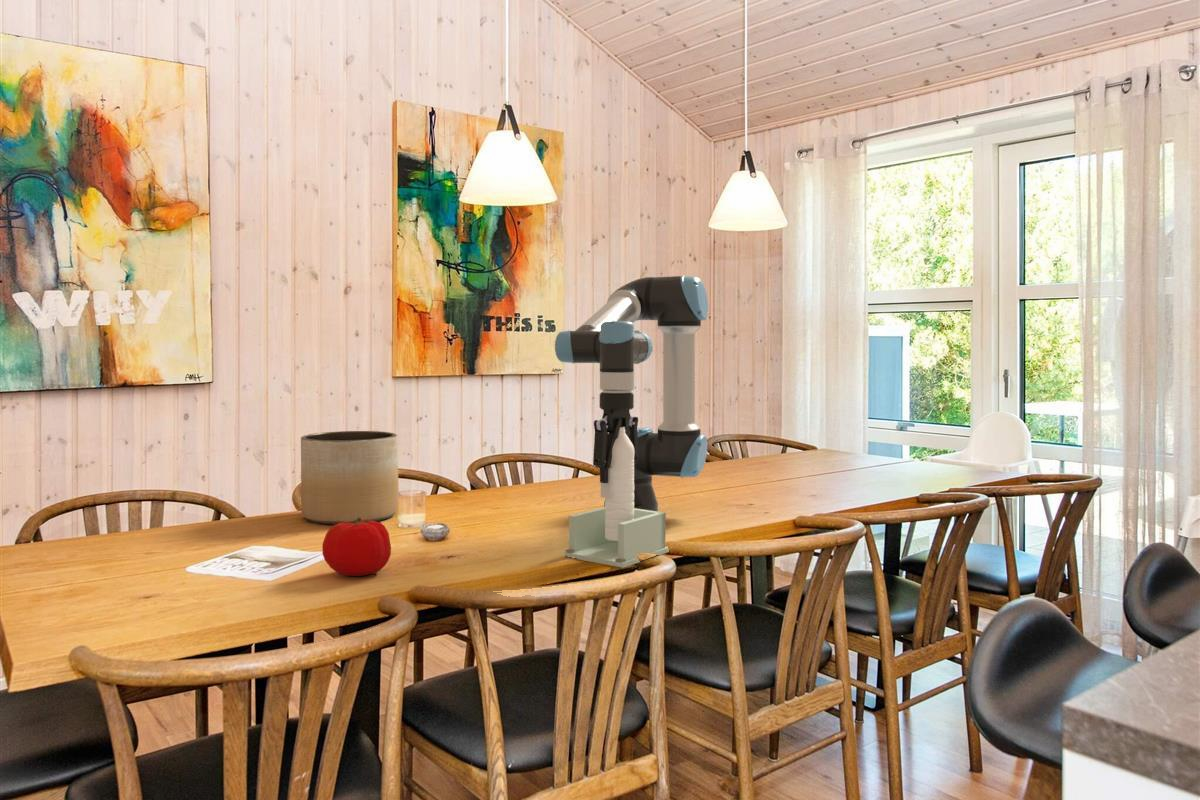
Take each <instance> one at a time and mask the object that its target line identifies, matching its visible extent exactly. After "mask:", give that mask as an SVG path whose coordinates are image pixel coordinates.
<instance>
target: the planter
mask: <svg viewBox="0 0 1200 800" xmlns="http://www.w3.org/2000/svg"><path fill="white" fill-rule="evenodd" d="M398 458H399V457H398V435H397V434H396V433H394V432H389V431H381V430H380V431H377V430H347V431H346V430H345V431H327V432H316V433H311V434H307V435H303V436H301V437H300V497H301V498H300V503H301V504H300V506H301V515H302V517H303V518H304V519H306V520H307V521H310V522H311V523H317V524H321V525H322V524H323V525H336V524H339V523H340V522H345V521H354V520H355V519H357V518H361V519H369V520H373V521H376V522H380V521H383V520H386V519H389V518H391V517H393V516H394V515H395V514H396V513H397V512H398V511H399V509H398V498H399V499H400V497H399V496H400V494H399V493H400V492H399V468H398V467H399V463H398V460H399V459H398Z"/></svg>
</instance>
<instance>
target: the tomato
mask: <svg viewBox="0 0 1200 800" xmlns="http://www.w3.org/2000/svg"><path fill="white" fill-rule="evenodd" d="M321 546H322V555H323V558H324V561H325V563H326V564H327V565H328V566H329V568H330V569H332V570H333V571H334V572H336V573H337V574H341V575H345V576H348V577H361V576H368V575H372V574H376V573H378V572H380V571H381V570H383V568H385V566H386V564H388V562H389V559H390V557H391V554H392V547H391V541H390V534H389V532H388V530H387V528H386V526H385V524H383V523H382V522H380V521H373V520H369V519H361V518H357V519H355V520H354V521H345V522H340V523H339V524H336V525H335V524H333V526H331V527H330V528H329V529H328V531H327V532H326V534H325V536H324V539H323V542H322V545H321Z"/></svg>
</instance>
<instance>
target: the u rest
mask: <svg viewBox="0 0 1200 800" xmlns="http://www.w3.org/2000/svg"><path fill="white" fill-rule="evenodd" d="M605 518H606V517H605V507H604V506H603V507H599V508H595V509H590V510H586V511H583V512H579V513H574V514H570V515H568V549H565V551H564V553H563V557H564V556H568V557H567V558H569V557H574V558H577V559H576V560H579V561H586V562H590V563H595V564H601V565H605V566H606V565H607V566H612V567H616V568H622V569H625V568H626V567H630V566H632V565H636V564H638V563H641V562H640V561H639V559H638V558H637V557H636V556H637V554H638V553H650V554H656V555H659V556H661V555H664V554H667V553H669V548H668V547H669V546H666V524H667V523H666V512H662V511H658V512H657V511H650V510H643V509H636V508H634V519H633V520H629V521H626V522H622V523H619V524H618V541H613V540H612V541H611V540H608V539H606V538H605V527H606V526H605ZM574 558H573V559H574Z"/></svg>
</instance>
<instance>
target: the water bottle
mask: <svg viewBox="0 0 1200 800" xmlns="http://www.w3.org/2000/svg"><path fill="white" fill-rule="evenodd" d="M625 431H626V430H625V427H620V429H619V434H618V438H617V439H615V442H614V445H613V448H612V460H611V465H610V468H613V498H604V502H605V500H606V502H605V517H606V518H605V526H606V527H605V538H606V539H608V540H611V541H612V540H613V541H618V524H619V523H622V522H626V521H629V520H633V519H634V446H633V444H632V442H631V441H630V439H629V438H628V436H627V435H626V433H625ZM605 462H606V461H605Z"/></svg>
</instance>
